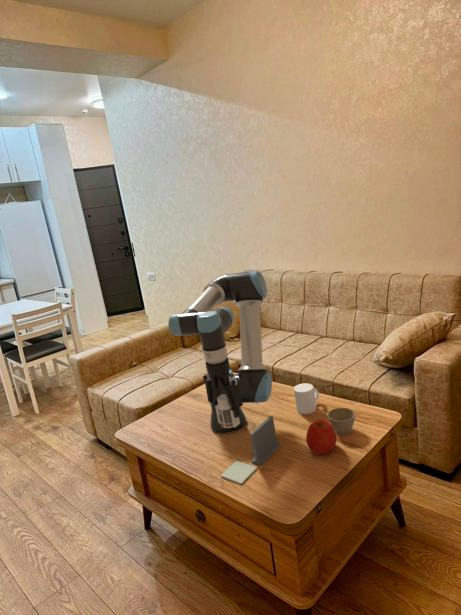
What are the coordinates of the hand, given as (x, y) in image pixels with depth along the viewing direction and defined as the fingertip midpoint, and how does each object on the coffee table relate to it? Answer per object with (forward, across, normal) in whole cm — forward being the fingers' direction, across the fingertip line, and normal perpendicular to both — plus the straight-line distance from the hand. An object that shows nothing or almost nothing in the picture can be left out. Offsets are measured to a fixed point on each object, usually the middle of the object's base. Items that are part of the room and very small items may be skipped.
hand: (229, 423), depth 139 cm
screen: (+20, +3, +13) cm, 24 cm away
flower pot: (+20, +22, +37) cm, 47 cm away
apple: (+20, +20, +24) cm, 37 cm away
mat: (+20, 0, 0) cm, 20 cm away
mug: (+20, +2, +48) cm, 52 cm away
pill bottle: (+1, 0, 0) cm, 1 cm away
